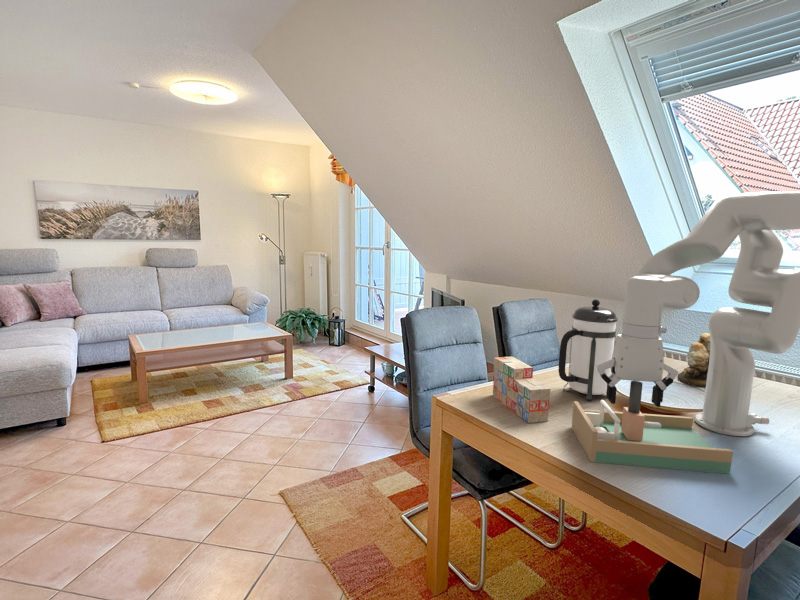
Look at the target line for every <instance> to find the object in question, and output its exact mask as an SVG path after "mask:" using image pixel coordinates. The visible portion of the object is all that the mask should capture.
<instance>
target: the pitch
mask: <svg viewBox="0 0 800 600" xmlns="http://www.w3.org/2000/svg"><path fill="white" fill-rule="evenodd" d="M599 403H600V407H599V410H597V409H584V408H583V407H582V406H581V404H580V402H579V401H577V400H574V401H573V403H572V404H573V405H572V407H573V409H572V418H571V428H572V430H573V432H574V434H575V436H576V437H577V440H578V441H579V444H580V446H581V447H582V449H583V451H584V452H585V454H586V456H587V458H588V460H589V462H591V463H602V464H603V463H604V464H613V465H614V464H615V465H627V466H636V467H649V468H659V469H660V468H662V469H670V470H682V471H683V470H684V471H691V472H693V471H694V472H704V473H705V472H706V473H717V474H727V475H730V474H731V469H732V464H733V463H732V462H733V455H734V454H733V453H734V451H733V450H732V449H731V448H719V447H714V446H713V445H712V444H711V443H710V442H708V440H706V439H705V438H703V436H701V435H700V434H699V433H698V432H697V431H696V430H695V429H693V422H694V418H693V417H691V416H681V415H667V414H666V415H665V414H655V413H654V414H653V413H642V414H643V415H644V416H645V420H644V421H645V422H658V423H660V424H661V428H659V429H656V428H644V430H643V439H642V441H634V440H628V439H627V438H626V436H625V435H624V434H623V432H622V431H621V426H622V416H623V411H613V410H612V409H611V407H610V406H609V404H608V403H607V401H605V400H604V399H601V400H600V401H599ZM595 427H603V428H604V429H606V431H607V432H603V431H597V430H596V429H595Z"/></svg>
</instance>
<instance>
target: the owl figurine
mask: <svg viewBox="0 0 800 600" xmlns="http://www.w3.org/2000/svg"><path fill="white" fill-rule="evenodd" d="M709 359H710V334H709V332H708V333H707V332H704V333H703V332H702V333H701V334H700V335H699V338H698V341H695V342H692V343H691V344H690V346H689V348H688V353H687V365H688V366H687V367H685V368H684V369H683V370H682V371H681V372H679V373H678V375H677V376H676V378H677V380H678V381H679V382H682V383H683V384H685V385H689V386H692V387H700V388H706V383H707V375H708V367H709Z"/></svg>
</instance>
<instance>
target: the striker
mask: <svg viewBox="0 0 800 600" xmlns="http://www.w3.org/2000/svg"><path fill="white" fill-rule="evenodd" d="M642 391H643V381H632V380H630V386H629V396H628V397H629V399H628V406H623V407H622V412H623V416H622V426H621V431H622V432H623V434H624V435H625V436H626V438H627V439H628V440H634V441H642V439H643V430H644V428H656V429H659V428H661V424H660V423H658V422H645V421H644V420H645V416H644V415H643V414H644V413H642V411H641V404H642V403H641V401H642Z"/></svg>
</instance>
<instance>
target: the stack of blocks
mask: <svg viewBox="0 0 800 600" xmlns="http://www.w3.org/2000/svg"><path fill="white" fill-rule="evenodd" d="M533 374H534V367H532V366H531V365H529V364H527V363H525V362H523V361H522V360H520V359H518V358H516V357H514V356H501V357H500V356H499V357H497V356H496V357H493V381H492V382H493V383H492V384H493V385H492V396H493V397H495V398H496V400H497V401H499V402H500V403H502V404H503V405H504V406H505V407H506V408H508V409H509V410H511V411H512V412H513V413H515V414H516V415H517V416H518V417H520V418H521V419H522V420H524V421H525V422H526V423H527V424H531V423H542V422H548V421H549V410H550V399H551V389H552V388H550V387H549V386H547V385H546V384H544V383H542V382H541V381H540V380H539V381H538V380H537V379H536V378H533V377H534V375H533Z"/></svg>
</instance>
